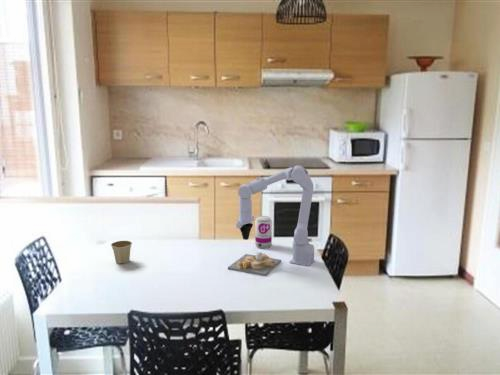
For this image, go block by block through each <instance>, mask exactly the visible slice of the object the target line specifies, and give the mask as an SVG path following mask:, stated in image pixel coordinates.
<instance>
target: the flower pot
mask: <svg viewBox="0 0 500 375" xmlns="http://www.w3.org/2000/svg"><path fill="white" fill-rule="evenodd" d="M132 245H133V242H132V241H130V240H118V241H114V242H112V243H111V244H110V246H111V249H112V251H113V257H114V260H115V263H116V264H119V265H121V264H127V263H129V262H130V260H131V248H132Z"/></svg>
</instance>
